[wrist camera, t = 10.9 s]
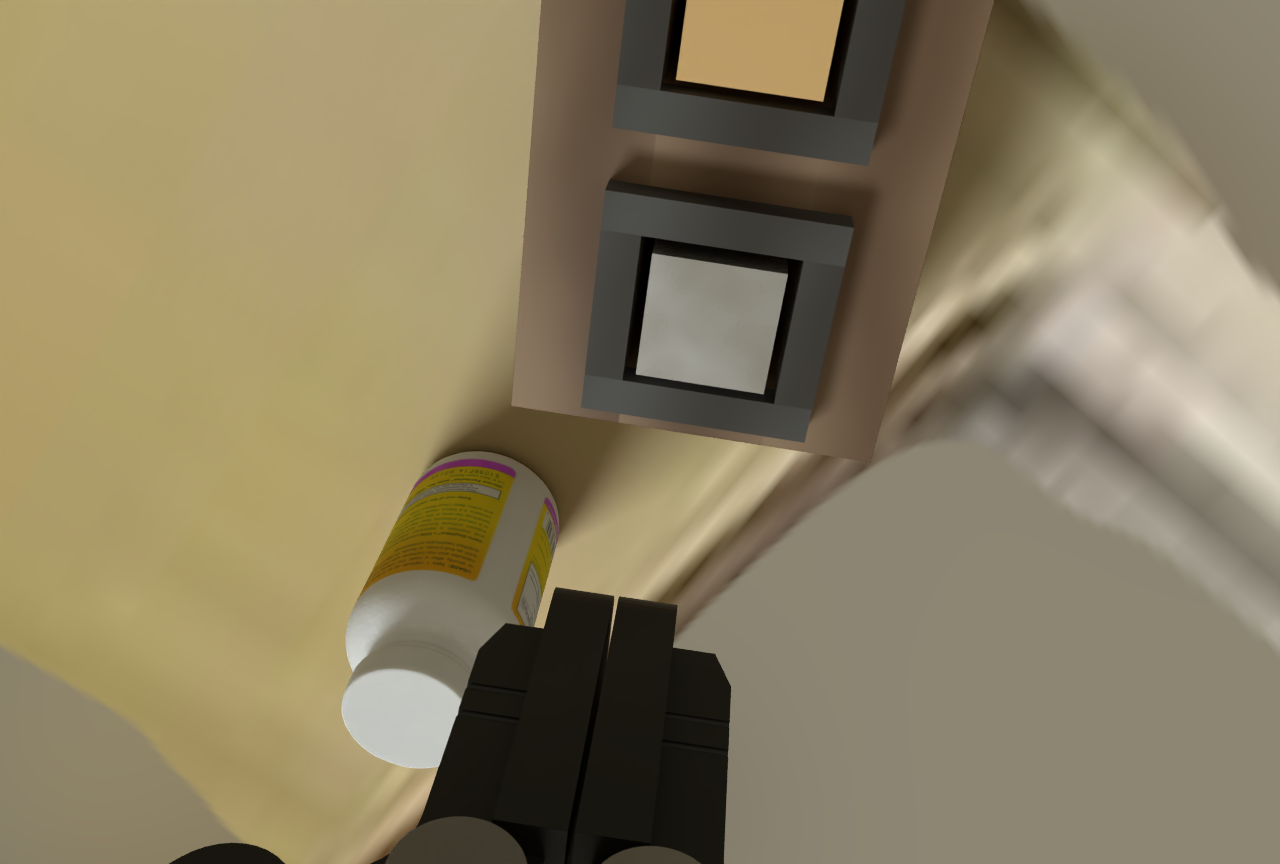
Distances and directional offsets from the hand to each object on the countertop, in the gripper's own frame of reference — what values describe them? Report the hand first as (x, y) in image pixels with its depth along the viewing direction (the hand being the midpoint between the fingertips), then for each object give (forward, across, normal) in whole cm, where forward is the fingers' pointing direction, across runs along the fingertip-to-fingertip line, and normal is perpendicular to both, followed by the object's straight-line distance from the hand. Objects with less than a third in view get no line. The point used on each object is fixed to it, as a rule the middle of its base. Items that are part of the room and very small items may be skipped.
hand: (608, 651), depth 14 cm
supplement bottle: (+30, +7, +19) cm, 36 cm away
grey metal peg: (+28, -1, +5) cm, 29 cm away
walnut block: (+30, -1, 0) cm, 30 cm away
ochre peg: (+28, -1, -4) cm, 29 cm away
